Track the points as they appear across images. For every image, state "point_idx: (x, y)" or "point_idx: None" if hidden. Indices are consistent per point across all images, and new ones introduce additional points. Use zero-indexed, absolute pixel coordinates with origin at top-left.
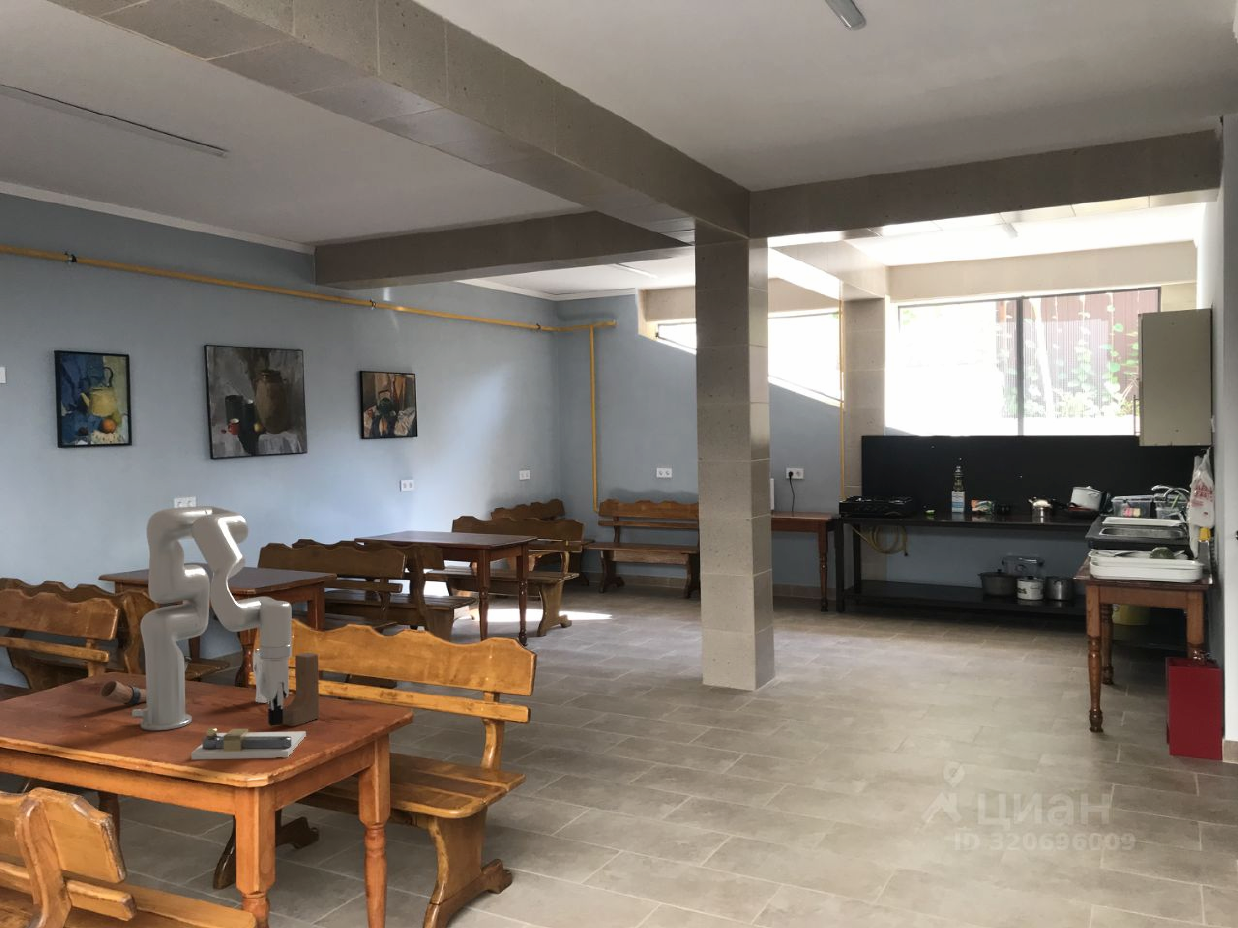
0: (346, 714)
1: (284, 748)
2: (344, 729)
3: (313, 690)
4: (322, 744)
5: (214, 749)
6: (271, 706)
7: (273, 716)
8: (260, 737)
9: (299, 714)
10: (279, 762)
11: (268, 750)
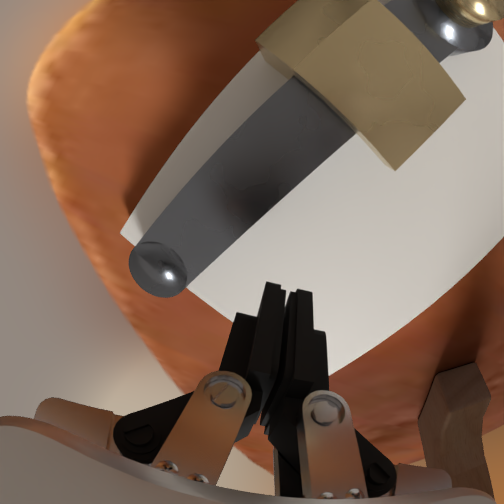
0: (383, 450)
1: None
2: None
3: None
4: (202, 357)
5: None
6: (205, 402)
7: (235, 339)
8: (264, 184)
9: (437, 411)
10: (97, 174)
11: (178, 174)
